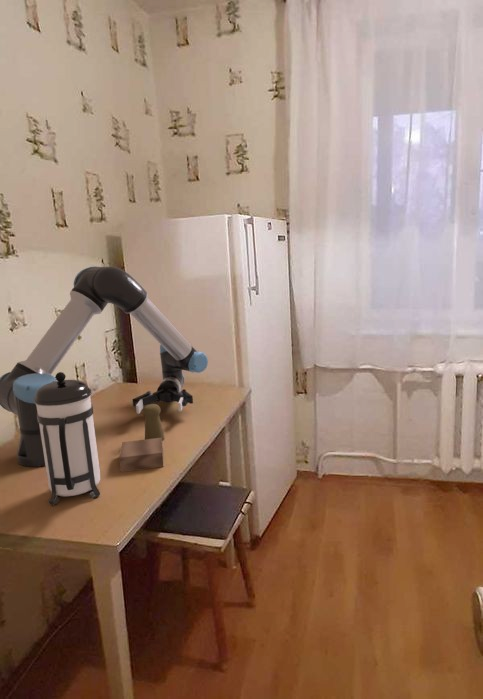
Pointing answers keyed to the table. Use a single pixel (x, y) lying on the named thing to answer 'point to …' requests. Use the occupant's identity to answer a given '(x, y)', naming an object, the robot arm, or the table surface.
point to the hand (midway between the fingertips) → (158, 408)
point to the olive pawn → (153, 422)
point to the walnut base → (141, 454)
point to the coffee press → (68, 438)
